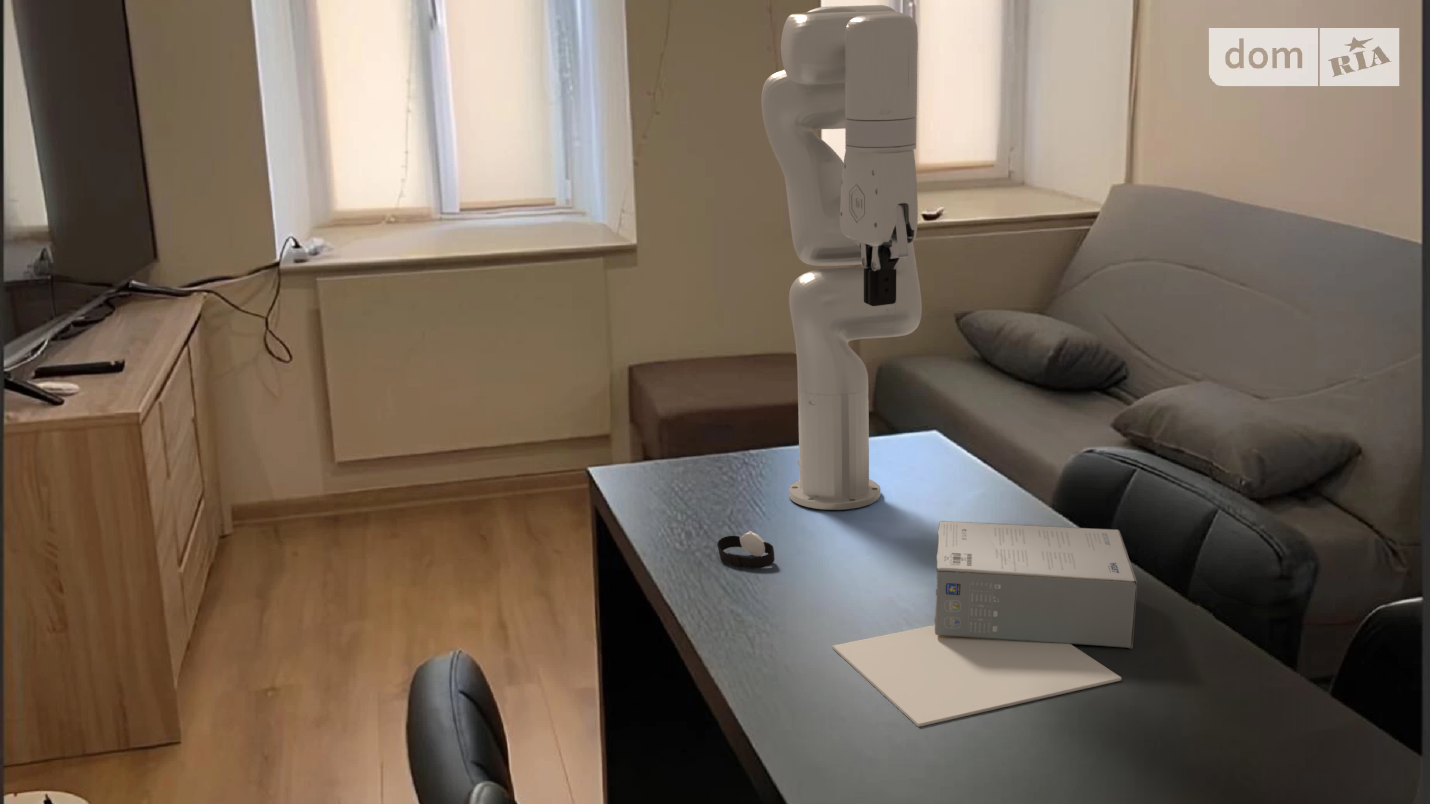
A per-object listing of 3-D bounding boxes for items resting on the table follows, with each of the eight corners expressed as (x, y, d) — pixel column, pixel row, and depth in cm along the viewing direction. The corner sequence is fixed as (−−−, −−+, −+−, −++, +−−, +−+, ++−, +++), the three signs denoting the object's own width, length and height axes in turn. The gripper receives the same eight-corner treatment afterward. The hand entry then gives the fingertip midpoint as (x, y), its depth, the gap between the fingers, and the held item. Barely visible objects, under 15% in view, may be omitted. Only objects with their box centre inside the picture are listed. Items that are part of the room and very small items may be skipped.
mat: (832, 648, 135) (832, 645, 135) (1016, 611, 142) (1016, 608, 142) (918, 726, 118) (918, 723, 118) (1121, 680, 126) (1121, 677, 126)
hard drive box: (932, 637, 135) (1133, 650, 132) (934, 568, 133) (1138, 579, 130) (936, 580, 150) (1117, 591, 146) (938, 517, 148) (1122, 526, 144)
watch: (783, 562, 159) (782, 533, 158) (761, 574, 155) (760, 546, 154) (731, 550, 163) (730, 522, 162) (709, 562, 160) (707, 534, 159)
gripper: (819, 131, 145) (820, 294, 150) (881, 144, 132) (880, 321, 137) (879, 127, 147) (879, 287, 153) (947, 139, 134) (943, 314, 139)
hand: (879, 303), depth 145 cm, fingers closed
